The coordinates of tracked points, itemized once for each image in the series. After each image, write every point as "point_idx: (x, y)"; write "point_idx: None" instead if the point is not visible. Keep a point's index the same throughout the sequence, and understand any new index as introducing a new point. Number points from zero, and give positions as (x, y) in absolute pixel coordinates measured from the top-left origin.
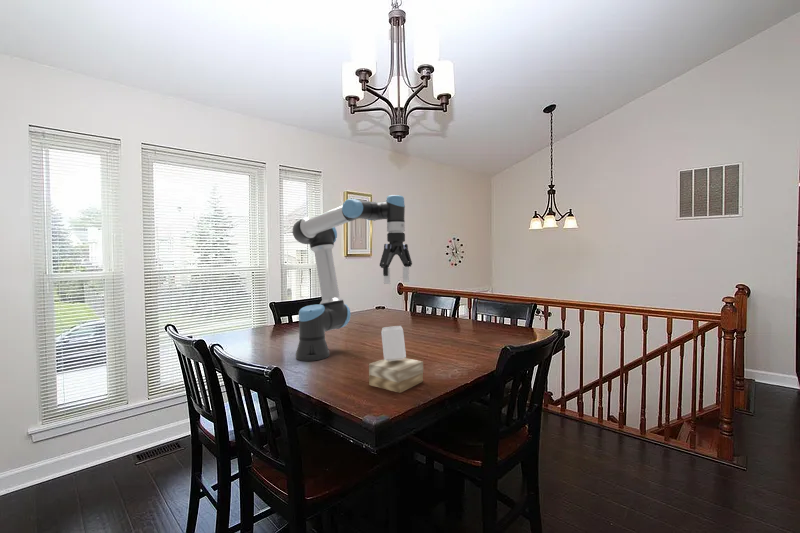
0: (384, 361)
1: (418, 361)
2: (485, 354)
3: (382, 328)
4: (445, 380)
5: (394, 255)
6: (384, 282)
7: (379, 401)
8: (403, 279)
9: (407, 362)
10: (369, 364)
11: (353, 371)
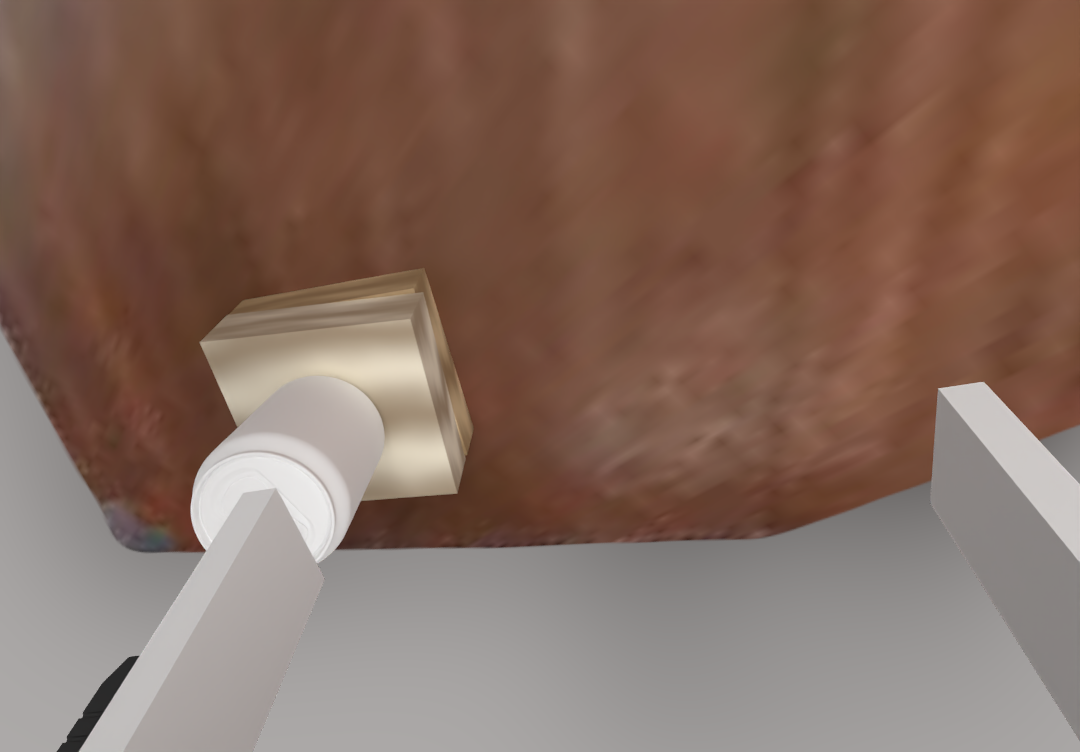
0: (295, 366)
1: (440, 479)
2: None
3: (195, 489)
4: (556, 479)
5: None
6: (238, 522)
7: (200, 455)
8: (962, 431)
9: (385, 455)
10: (202, 345)
11: (263, 44)
